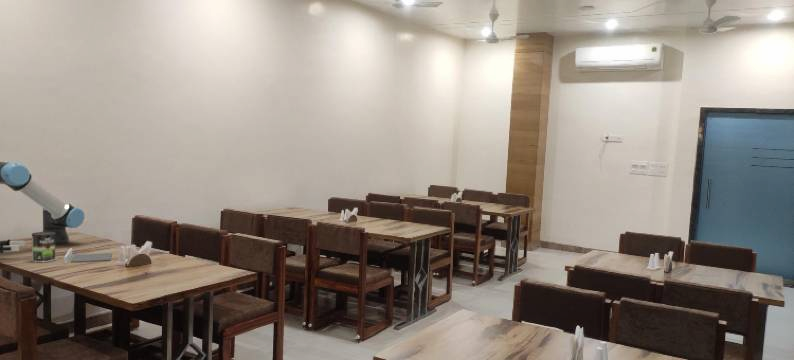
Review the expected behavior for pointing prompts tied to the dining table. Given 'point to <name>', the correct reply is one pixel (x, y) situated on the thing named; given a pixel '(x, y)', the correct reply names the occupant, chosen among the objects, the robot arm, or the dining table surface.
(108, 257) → the mat
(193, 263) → the dining table surface
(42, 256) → the coffee can
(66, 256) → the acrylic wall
